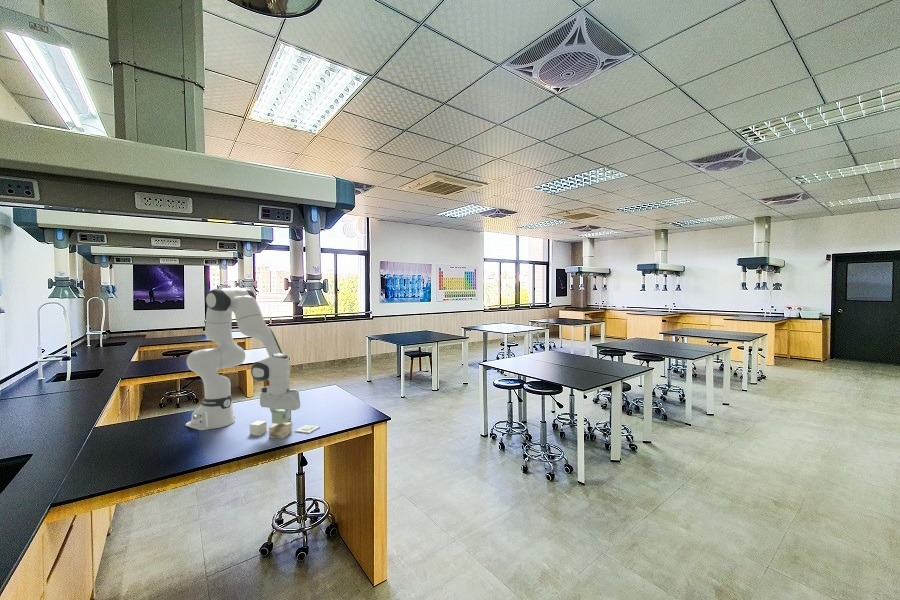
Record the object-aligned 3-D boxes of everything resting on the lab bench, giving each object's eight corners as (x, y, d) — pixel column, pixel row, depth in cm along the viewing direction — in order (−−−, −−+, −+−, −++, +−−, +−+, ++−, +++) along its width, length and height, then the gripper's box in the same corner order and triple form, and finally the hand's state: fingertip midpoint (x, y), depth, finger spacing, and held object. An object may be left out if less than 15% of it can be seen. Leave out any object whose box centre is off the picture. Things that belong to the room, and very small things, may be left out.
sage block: (271, 423, 167) (271, 412, 167) (279, 419, 172) (279, 409, 172) (280, 424, 166) (280, 413, 166) (288, 420, 170) (288, 409, 170)
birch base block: (269, 438, 166) (269, 427, 166) (277, 432, 173) (277, 422, 173) (283, 438, 165) (283, 427, 165) (291, 432, 172) (291, 422, 172)
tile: (295, 431, 173) (295, 430, 173) (306, 425, 180) (306, 424, 180) (309, 433, 170) (309, 431, 170) (319, 427, 178) (319, 425, 178)
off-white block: (249, 434, 170) (249, 424, 170) (258, 430, 174) (258, 420, 174) (258, 435, 168) (258, 425, 168) (266, 431, 173) (266, 421, 173)
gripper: (303, 388, 169) (303, 417, 169) (267, 385, 174) (267, 413, 175) (293, 391, 163) (294, 422, 163) (257, 388, 168) (257, 417, 169)
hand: (280, 417), depth 169 cm, fingers closed on sage block, 5 cm apart
